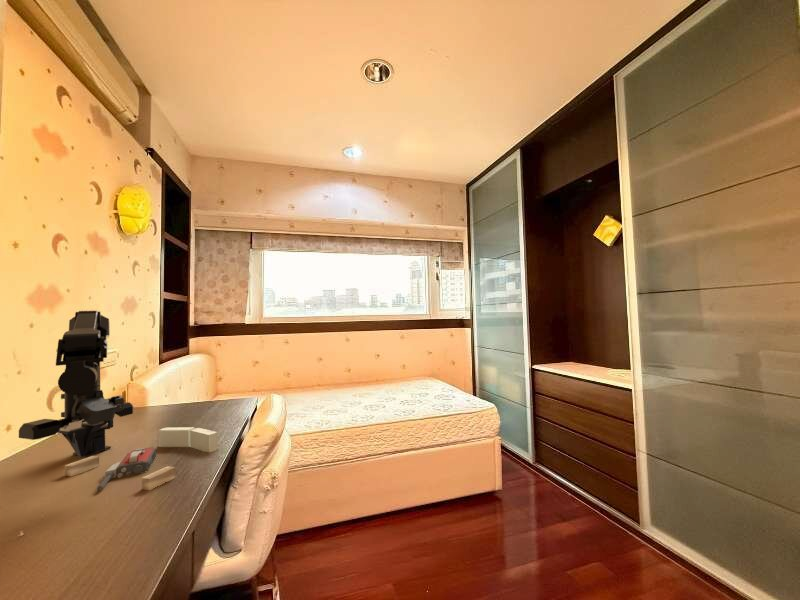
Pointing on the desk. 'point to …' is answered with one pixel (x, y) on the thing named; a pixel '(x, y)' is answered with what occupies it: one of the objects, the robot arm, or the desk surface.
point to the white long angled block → (188, 438)
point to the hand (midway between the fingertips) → (82, 456)
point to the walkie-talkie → (130, 464)
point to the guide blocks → (147, 481)
